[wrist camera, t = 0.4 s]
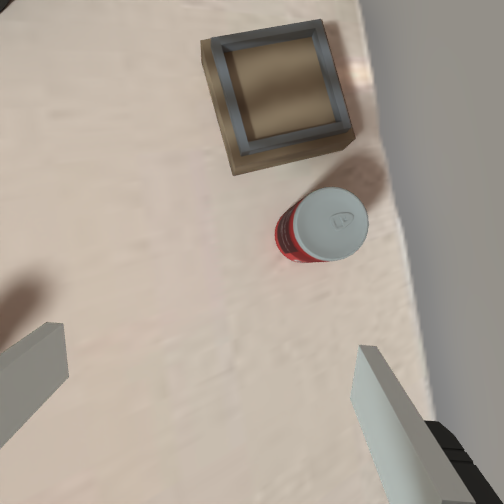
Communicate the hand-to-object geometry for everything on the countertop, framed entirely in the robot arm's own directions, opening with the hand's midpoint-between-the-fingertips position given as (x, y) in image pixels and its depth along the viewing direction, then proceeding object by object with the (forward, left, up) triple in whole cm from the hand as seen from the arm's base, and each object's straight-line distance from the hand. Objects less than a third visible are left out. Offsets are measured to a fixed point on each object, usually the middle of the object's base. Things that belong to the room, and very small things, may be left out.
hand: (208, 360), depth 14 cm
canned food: (-5, +14, -27) cm, 31 cm away
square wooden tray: (-23, +15, -27) cm, 39 cm away
